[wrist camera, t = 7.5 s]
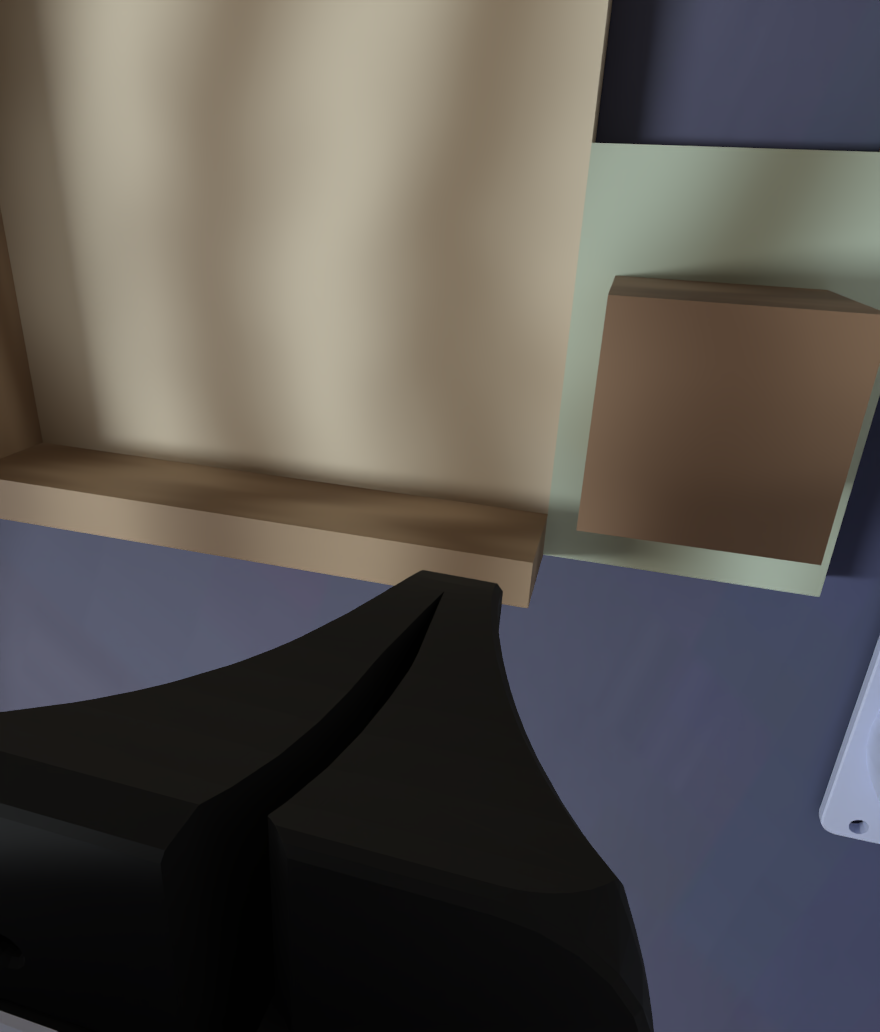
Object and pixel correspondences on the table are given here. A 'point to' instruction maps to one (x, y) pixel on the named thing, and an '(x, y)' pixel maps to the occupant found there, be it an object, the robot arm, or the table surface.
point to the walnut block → (727, 415)
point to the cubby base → (358, 278)
